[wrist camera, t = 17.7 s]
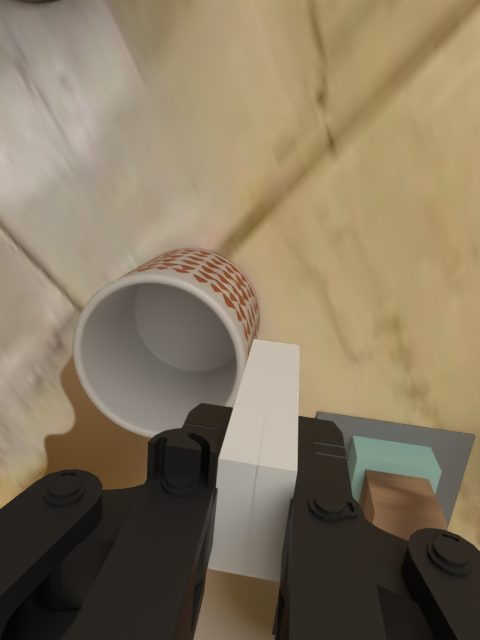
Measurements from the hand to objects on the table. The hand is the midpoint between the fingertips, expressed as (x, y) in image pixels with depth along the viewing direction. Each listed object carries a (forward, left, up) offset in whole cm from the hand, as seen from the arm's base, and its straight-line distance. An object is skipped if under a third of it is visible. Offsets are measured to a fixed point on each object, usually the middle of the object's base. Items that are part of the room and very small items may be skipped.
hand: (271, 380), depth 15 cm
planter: (-9, -8, -30) cm, 32 cm away
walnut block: (+13, -23, -25) cm, 36 cm away
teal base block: (+13, -23, -29) cm, 39 cm away
